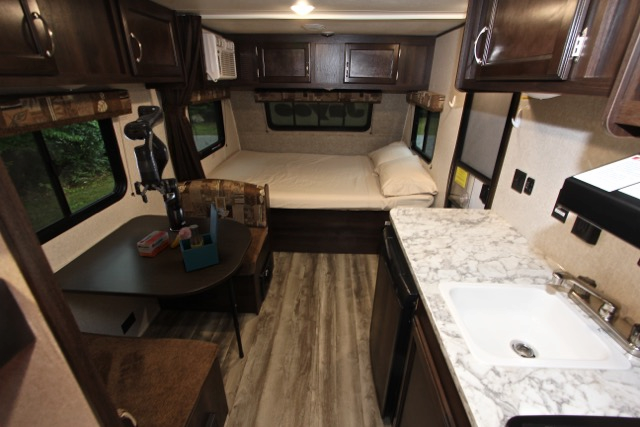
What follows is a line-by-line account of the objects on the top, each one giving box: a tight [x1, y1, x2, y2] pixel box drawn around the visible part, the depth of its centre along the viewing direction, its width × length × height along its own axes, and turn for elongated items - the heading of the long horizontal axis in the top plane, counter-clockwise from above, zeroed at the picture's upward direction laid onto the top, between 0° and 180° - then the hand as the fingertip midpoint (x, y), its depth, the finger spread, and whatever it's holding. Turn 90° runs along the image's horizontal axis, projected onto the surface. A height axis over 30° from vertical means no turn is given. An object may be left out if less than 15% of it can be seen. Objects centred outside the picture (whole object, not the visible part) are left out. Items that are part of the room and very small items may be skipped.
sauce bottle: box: [188, 224, 204, 249], centre depth 149 cm, size 6×6×20 cm
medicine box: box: [136, 230, 171, 258], centre depth 162 cm, size 15×8×8 cm, turn 172°
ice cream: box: [170, 226, 191, 249], centre depth 168 cm, size 11×10×15 cm
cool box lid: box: [209, 203, 226, 244], centre depth 150 cm, size 17×13×5 cm
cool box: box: [179, 232, 220, 273], centre depth 151 cm, size 16×13×12 cm
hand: (156, 202), depth 138 cm, fingers open, 8 cm apart
